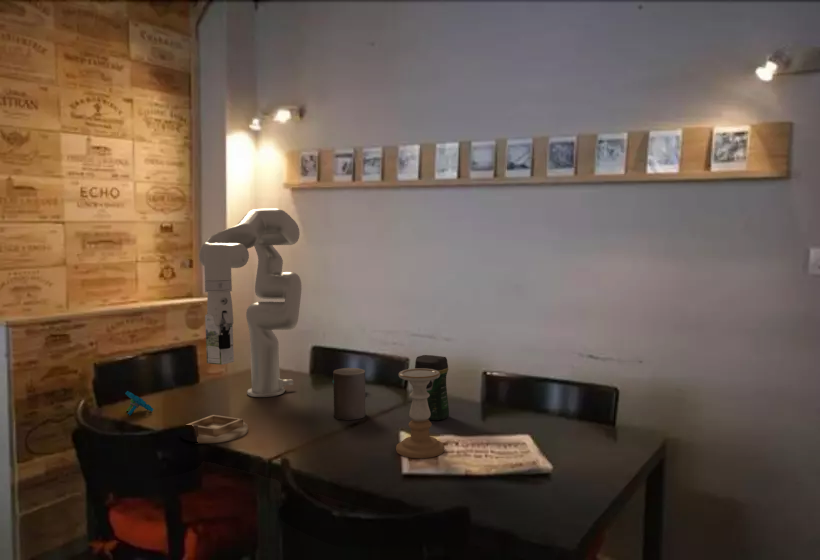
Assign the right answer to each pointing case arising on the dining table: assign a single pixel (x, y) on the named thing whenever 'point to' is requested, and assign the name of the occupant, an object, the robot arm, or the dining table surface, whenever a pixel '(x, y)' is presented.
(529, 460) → the dining table surface
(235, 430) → the flange base
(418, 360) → the coffee jar
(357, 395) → the pillar candle
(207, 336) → the syrup box
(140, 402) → the blue t-shaped piece
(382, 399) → the dining table surface
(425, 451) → the candle holder
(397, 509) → the dining table surface
